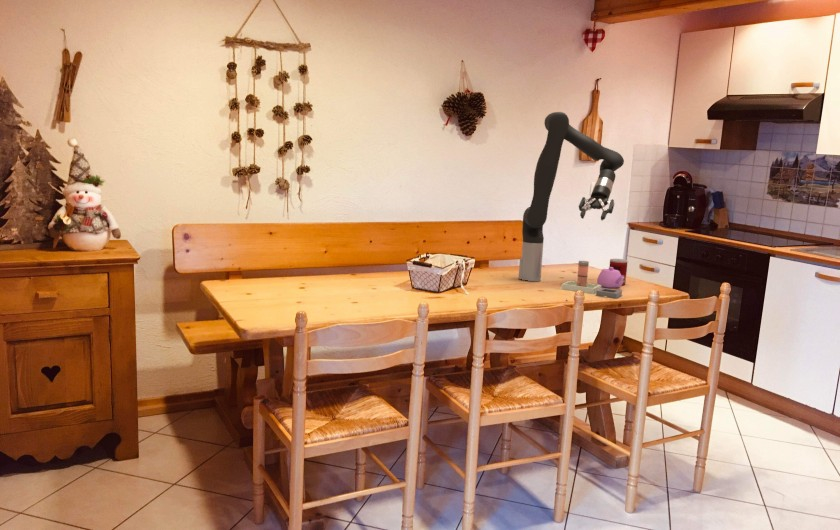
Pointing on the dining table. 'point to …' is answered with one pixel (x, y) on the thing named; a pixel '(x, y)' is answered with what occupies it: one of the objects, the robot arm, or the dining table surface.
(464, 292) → the dining table surface
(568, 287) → the parts tray
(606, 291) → the socket block
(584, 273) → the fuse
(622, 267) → the canned food
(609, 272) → the teapot
